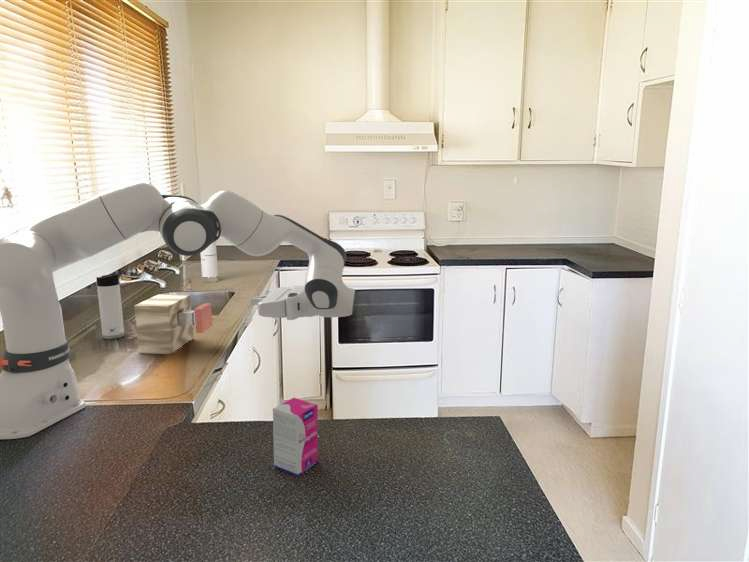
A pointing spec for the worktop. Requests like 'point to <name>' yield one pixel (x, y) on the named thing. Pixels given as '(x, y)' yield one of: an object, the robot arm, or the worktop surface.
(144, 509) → the worktop surface
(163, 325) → the block
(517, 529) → the worktop surface
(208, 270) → the cylindrical container
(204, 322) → the pink-tipped peg
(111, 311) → the travel mug
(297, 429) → the supplement box
